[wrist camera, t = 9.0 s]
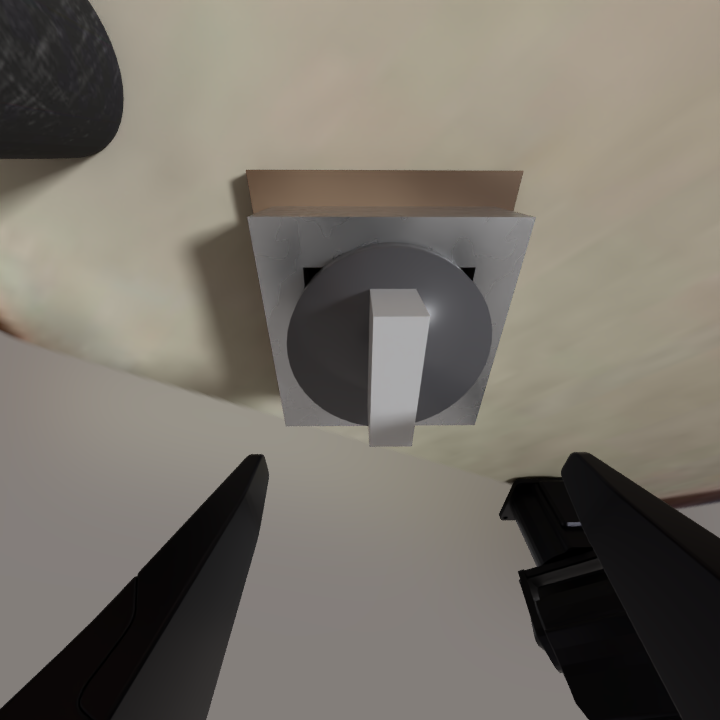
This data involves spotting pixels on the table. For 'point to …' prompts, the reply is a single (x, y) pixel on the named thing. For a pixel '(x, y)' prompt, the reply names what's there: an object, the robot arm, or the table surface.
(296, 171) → the walnut plate
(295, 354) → the grey disc with handle
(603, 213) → the table surface
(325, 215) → the hollow square frame
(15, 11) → the travel mug
